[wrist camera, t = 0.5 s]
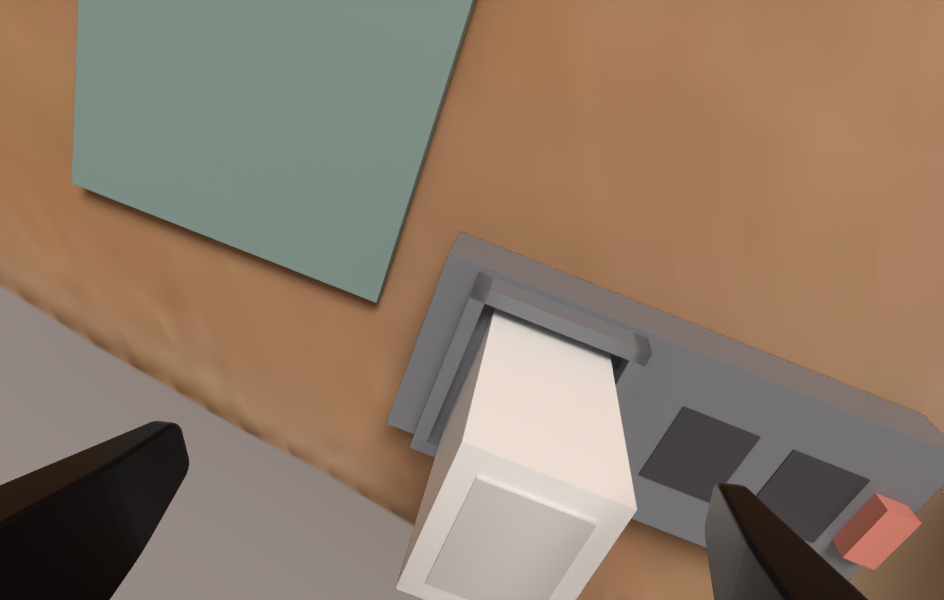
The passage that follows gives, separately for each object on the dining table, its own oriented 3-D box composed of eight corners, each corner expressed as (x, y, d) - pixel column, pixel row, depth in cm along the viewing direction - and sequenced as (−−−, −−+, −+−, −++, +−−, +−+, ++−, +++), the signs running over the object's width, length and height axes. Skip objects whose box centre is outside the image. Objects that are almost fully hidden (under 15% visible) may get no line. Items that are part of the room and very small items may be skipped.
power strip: (924, 415, 20) (991, 480, 17) (806, 545, 23) (844, 621, 20) (461, 231, 20) (442, 264, 17) (402, 388, 23) (378, 440, 20)
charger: (609, 350, 18) (637, 512, 12) (548, 460, 20) (543, 649, 14) (495, 305, 18) (461, 444, 12) (446, 420, 20) (394, 592, 14)
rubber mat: (492, -52, 16) (490, -56, 16) (380, 296, 21) (376, 302, 21) (103, -210, 16) (86, -220, 15) (84, 180, 21) (71, 183, 20)
